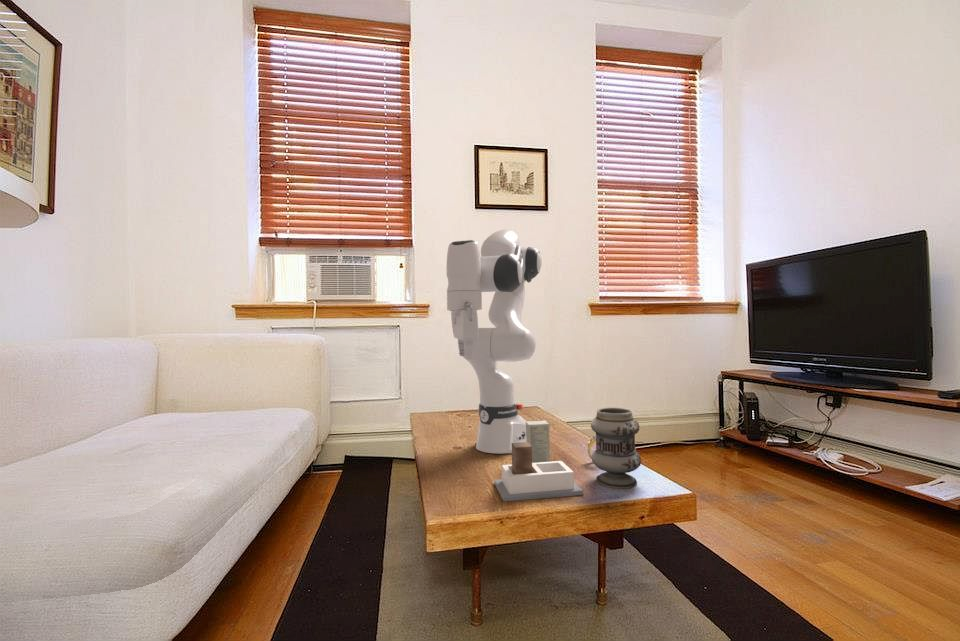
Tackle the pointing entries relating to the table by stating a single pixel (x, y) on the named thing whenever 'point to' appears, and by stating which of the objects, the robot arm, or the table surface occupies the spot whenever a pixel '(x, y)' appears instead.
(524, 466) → the walnut peg
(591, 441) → the ring
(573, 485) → the slot rack
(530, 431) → the skincare box
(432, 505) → the table surface
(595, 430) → the apothecary jar
